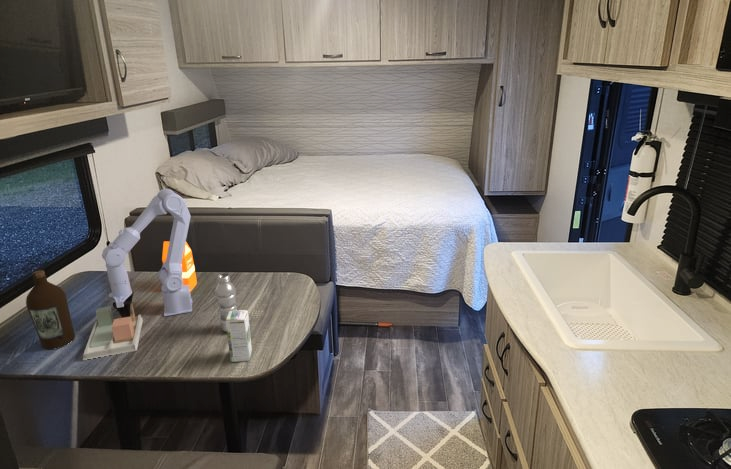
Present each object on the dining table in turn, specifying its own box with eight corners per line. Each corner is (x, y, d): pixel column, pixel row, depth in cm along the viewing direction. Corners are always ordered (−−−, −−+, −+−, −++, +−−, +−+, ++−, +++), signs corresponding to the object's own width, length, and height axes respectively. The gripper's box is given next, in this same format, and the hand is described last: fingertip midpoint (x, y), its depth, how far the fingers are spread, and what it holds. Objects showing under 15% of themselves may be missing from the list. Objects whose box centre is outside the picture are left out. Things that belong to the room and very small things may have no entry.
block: (133, 329, 157) (130, 316, 155) (132, 337, 153) (128, 324, 151) (117, 332, 156) (114, 319, 154) (115, 340, 151) (111, 327, 149)
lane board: (95, 327, 162) (93, 322, 161) (142, 319, 167) (141, 314, 166) (83, 360, 144) (81, 354, 144) (136, 350, 149) (135, 344, 148)
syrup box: (233, 351, 147) (227, 310, 142) (253, 350, 148) (247, 309, 142) (230, 362, 142) (224, 320, 137) (250, 361, 142) (244, 319, 137)
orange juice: (190, 292, 185) (182, 244, 178) (168, 292, 186) (158, 245, 178) (197, 283, 193) (189, 237, 186) (175, 283, 193) (167, 237, 186)
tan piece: (120, 321, 164) (116, 305, 162) (138, 318, 165) (134, 302, 163) (114, 343, 151) (110, 325, 149) (133, 339, 153) (129, 322, 151)
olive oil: (46, 335, 158) (24, 267, 150) (81, 330, 161) (62, 263, 152) (34, 353, 149) (11, 282, 140) (72, 347, 151) (51, 277, 143)
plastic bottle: (245, 325, 161) (238, 272, 154) (233, 336, 155) (225, 281, 148) (228, 322, 163) (221, 270, 156) (217, 333, 157) (208, 278, 150)
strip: (98, 325, 162) (94, 309, 160) (116, 322, 164) (112, 306, 161) (90, 347, 149) (86, 330, 147) (110, 344, 151) (106, 326, 149)
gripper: (109, 273, 163) (117, 308, 168) (102, 292, 150) (111, 329, 155) (131, 270, 165) (139, 304, 170) (126, 288, 152) (135, 325, 157)
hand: (127, 316), depth 163 cm, fingers open, 4 cm apart
